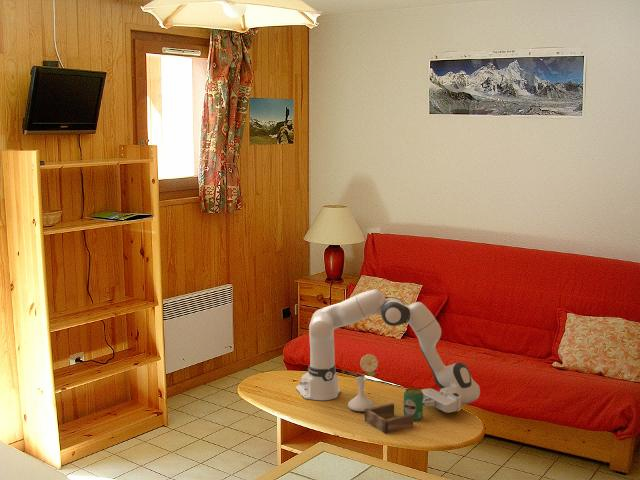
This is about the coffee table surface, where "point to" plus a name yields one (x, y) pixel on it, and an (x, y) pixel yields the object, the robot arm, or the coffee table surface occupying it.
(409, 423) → the walnut bracket
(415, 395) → the beverage can
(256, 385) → the coffee table surface
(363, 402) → the flower in vase
